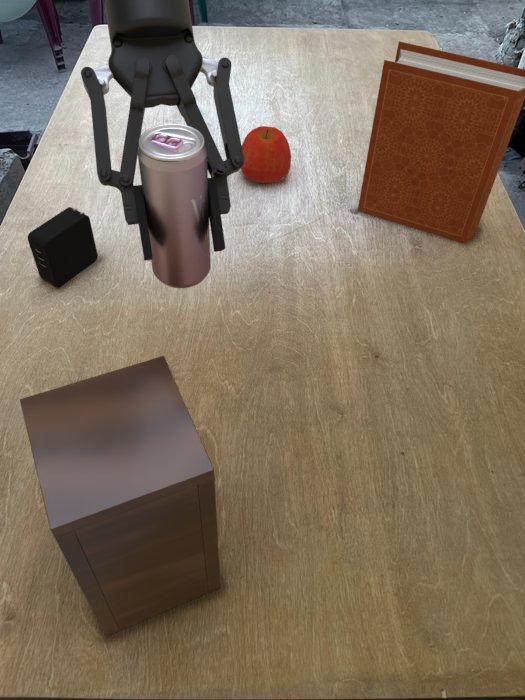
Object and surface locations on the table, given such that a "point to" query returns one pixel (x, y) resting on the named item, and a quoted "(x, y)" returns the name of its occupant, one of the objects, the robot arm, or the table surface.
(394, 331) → the table surface
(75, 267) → the electronic device
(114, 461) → the stand
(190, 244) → the beverage can
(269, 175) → the apple
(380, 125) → the book
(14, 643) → the table surface
